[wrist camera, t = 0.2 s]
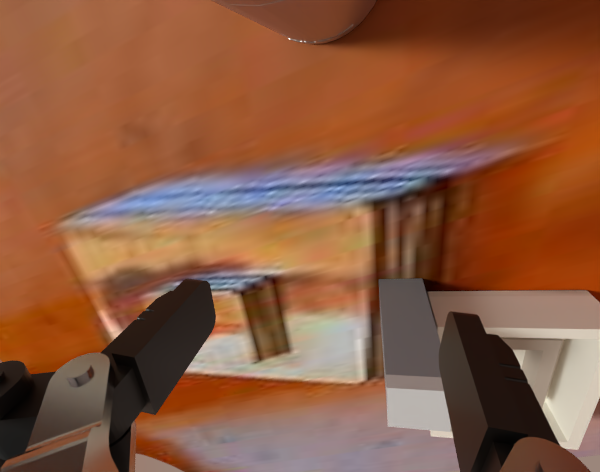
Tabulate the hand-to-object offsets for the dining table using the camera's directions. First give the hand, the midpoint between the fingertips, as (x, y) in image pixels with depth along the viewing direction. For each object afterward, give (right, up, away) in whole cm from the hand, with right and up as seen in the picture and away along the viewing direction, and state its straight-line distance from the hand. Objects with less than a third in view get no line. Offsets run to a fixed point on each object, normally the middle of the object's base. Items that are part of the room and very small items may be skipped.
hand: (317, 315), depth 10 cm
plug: (+9, -3, +20) cm, 22 cm away
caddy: (+19, -9, +21) cm, 30 cm away
